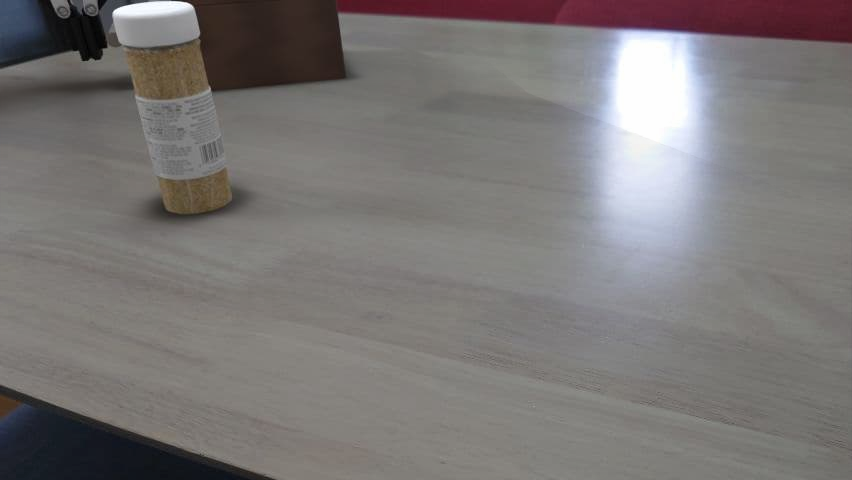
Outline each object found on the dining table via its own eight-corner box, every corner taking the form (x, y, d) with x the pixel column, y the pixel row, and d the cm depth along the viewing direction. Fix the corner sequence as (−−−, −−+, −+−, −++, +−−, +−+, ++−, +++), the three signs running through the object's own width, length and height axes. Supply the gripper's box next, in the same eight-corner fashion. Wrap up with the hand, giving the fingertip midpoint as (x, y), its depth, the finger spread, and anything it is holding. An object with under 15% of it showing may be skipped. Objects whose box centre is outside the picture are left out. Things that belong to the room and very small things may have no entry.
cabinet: (193, 103, 78) (170, -3, 74) (194, 72, 89) (174, -22, 84) (347, 88, 83) (334, -13, 78) (331, 60, 93) (319, -30, 88)
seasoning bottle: (206, 197, 58) (160, -4, 51) (252, 210, 56) (210, 2, 49) (150, 221, 54) (93, 8, 48) (197, 235, 52) (144, 15, 46)
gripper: (129, -162, 75) (176, 42, 84) (-58, -159, 71) (13, 56, 80) (122, -162, 69) (174, 58, 78) (-83, -159, 65) (-3, 74, 74)
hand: (92, 57), depth 79 cm, fingers closed
